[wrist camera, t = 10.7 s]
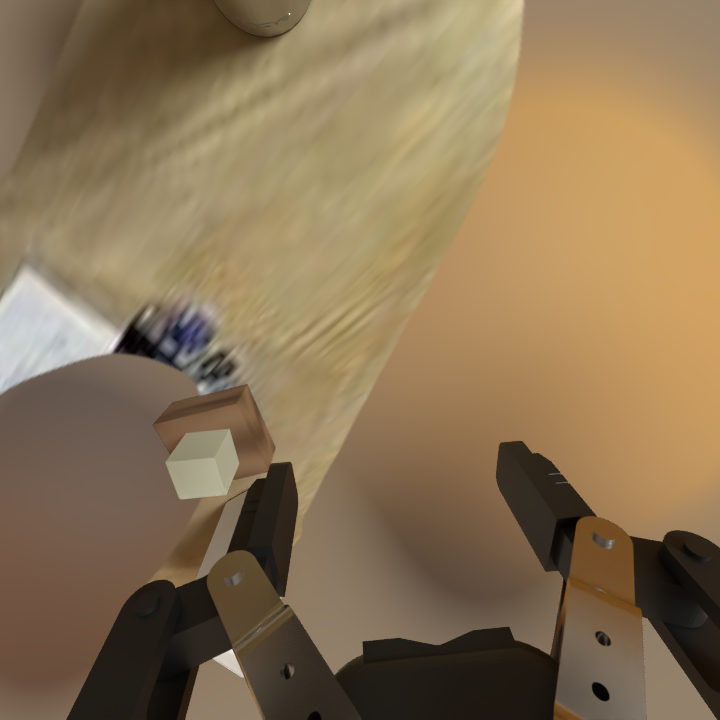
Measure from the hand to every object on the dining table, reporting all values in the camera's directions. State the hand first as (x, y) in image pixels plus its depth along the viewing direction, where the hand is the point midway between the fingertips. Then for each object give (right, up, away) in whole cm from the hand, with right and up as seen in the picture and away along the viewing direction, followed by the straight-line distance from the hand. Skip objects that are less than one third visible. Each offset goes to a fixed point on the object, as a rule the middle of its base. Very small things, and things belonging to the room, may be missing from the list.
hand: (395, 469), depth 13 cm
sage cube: (-19, -6, +27) cm, 33 cm away
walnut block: (-19, -4, +32) cm, 37 cm away
